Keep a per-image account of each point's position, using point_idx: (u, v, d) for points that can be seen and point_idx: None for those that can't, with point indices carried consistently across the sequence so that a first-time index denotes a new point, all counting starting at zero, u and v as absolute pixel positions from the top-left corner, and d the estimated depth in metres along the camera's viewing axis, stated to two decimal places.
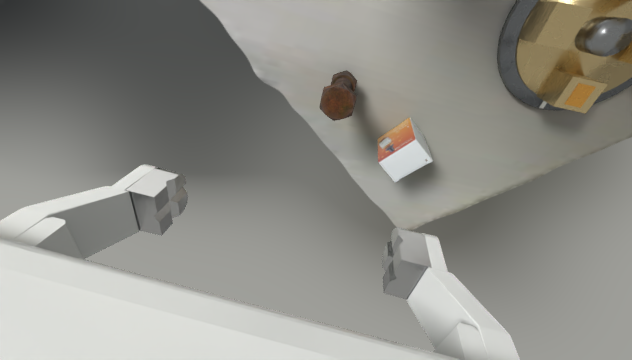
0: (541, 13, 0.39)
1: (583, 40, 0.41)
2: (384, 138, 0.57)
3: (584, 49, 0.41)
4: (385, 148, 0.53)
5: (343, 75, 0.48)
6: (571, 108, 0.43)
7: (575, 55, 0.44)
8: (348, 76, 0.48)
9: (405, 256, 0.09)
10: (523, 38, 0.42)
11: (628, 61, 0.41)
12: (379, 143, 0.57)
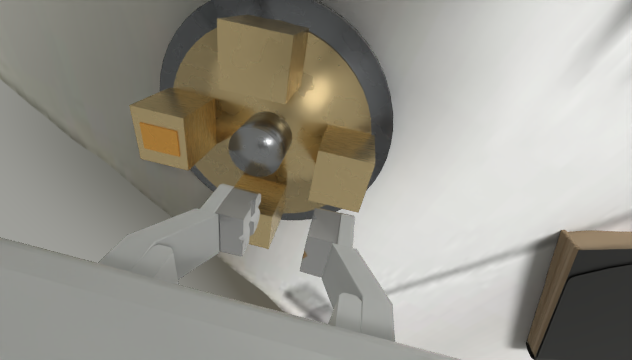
0: (281, 26, 0.20)
1: (252, 119, 0.25)
2: None
3: None
4: None
5: None
6: (138, 135, 0.24)
7: (238, 122, 0.27)
8: None
9: (313, 233, 0.09)
10: (242, 16, 0.21)
11: (238, 183, 0.29)
12: None
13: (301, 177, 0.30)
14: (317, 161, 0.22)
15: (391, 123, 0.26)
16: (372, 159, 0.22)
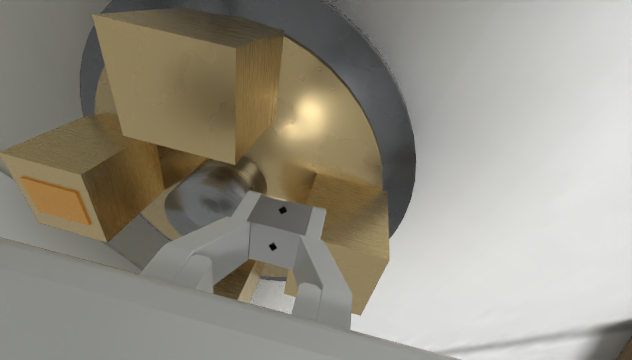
0: (227, 29, 0.11)
1: (203, 168, 0.16)
2: None
3: (188, 175, 0.17)
4: None
5: None
6: (25, 194, 0.15)
7: (190, 164, 0.19)
8: None
9: (281, 225, 0.09)
10: (168, 9, 0.12)
11: None
12: None
13: None
14: None
15: (413, 172, 0.17)
16: (384, 247, 0.13)
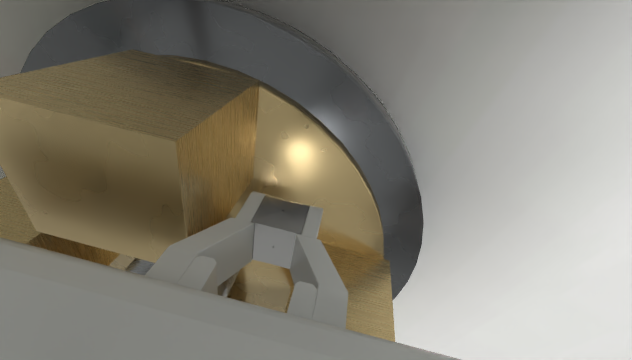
0: (176, 92, 0.08)
1: None
2: None
3: None
4: None
5: None
6: None
7: None
8: None
9: (278, 224, 0.09)
10: (102, 58, 0.09)
11: None
12: None
13: (266, 300, 0.18)
14: None
15: (419, 237, 0.15)
16: None
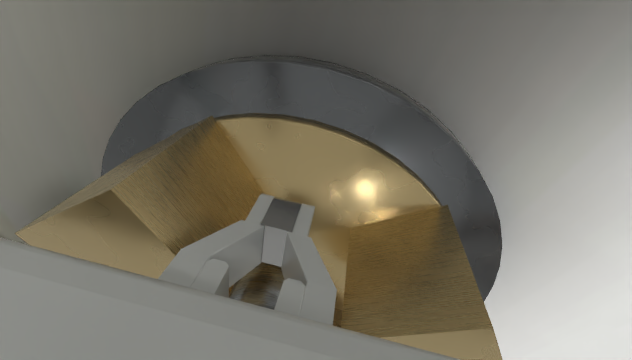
0: (141, 159, 0.10)
1: (233, 288, 0.14)
2: None
3: None
4: None
5: None
6: None
7: None
8: None
9: (269, 222, 0.09)
10: (109, 171, 0.12)
11: None
12: None
13: None
14: None
15: (492, 278, 0.15)
16: (476, 306, 0.08)
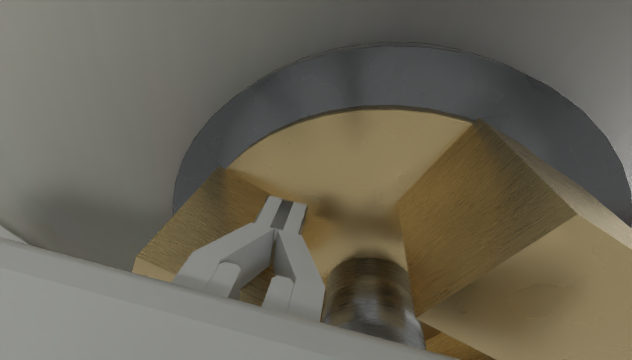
0: None
1: (322, 314, 0.14)
2: None
3: None
4: None
5: None
6: None
7: None
8: None
9: (260, 220, 0.09)
10: None
11: None
12: None
13: None
14: (446, 331, 0.08)
15: None
16: (547, 201, 0.06)
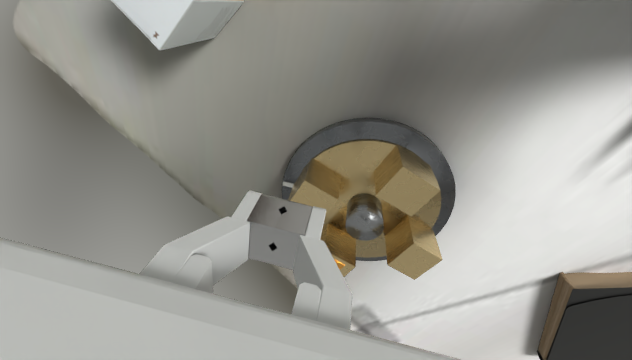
0: (302, 177, 0.34)
1: (346, 213, 0.37)
2: None
3: None
4: None
5: None
6: None
7: None
8: None
9: (281, 225, 0.09)
10: (291, 190, 0.37)
11: (386, 244, 0.39)
12: None
13: None
14: (383, 199, 0.31)
15: (453, 202, 0.38)
16: (400, 165, 0.29)
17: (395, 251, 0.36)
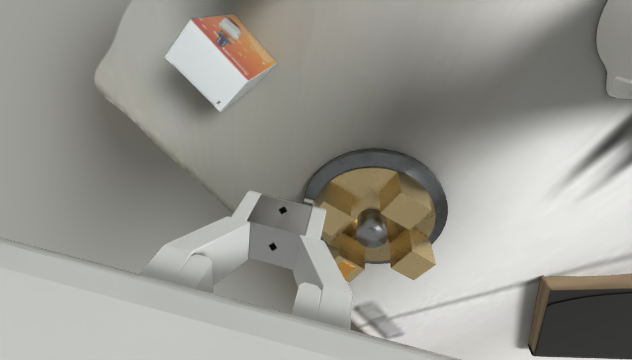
0: (321, 197, 0.42)
1: (357, 225, 0.45)
2: (238, 26, 0.34)
3: None
4: (221, 29, 0.30)
5: None
6: None
7: None
8: None
9: (281, 225, 0.09)
10: None
11: (390, 250, 0.47)
12: (227, 18, 0.33)
13: None
14: (386, 216, 0.39)
15: (446, 216, 0.45)
16: (399, 190, 0.37)
17: (397, 256, 0.44)
